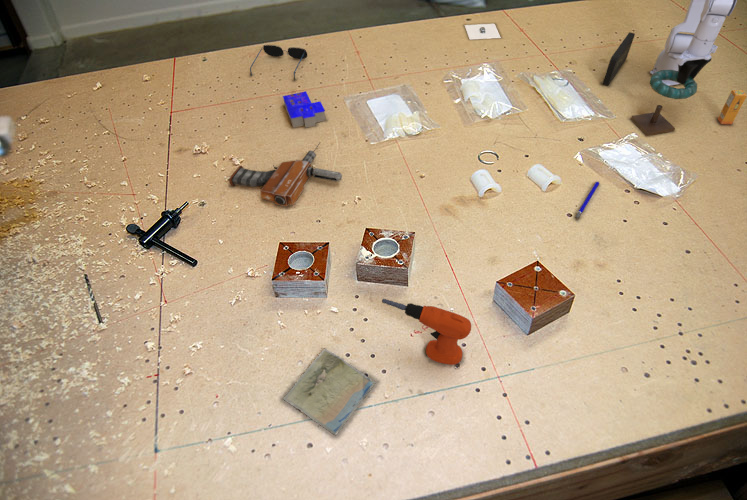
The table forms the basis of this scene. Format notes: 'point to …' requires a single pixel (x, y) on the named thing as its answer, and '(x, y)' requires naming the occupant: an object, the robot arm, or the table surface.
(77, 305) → the table surface
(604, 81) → the nameplate
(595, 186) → the pencil
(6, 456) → the table surface
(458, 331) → the toy drill
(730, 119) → the supplement box
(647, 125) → the stand
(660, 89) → the ring
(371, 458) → the table surface
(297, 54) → the sunglasses
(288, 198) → the tool
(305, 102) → the blue grey stepped block
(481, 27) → the white square panel
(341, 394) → the topographic map
